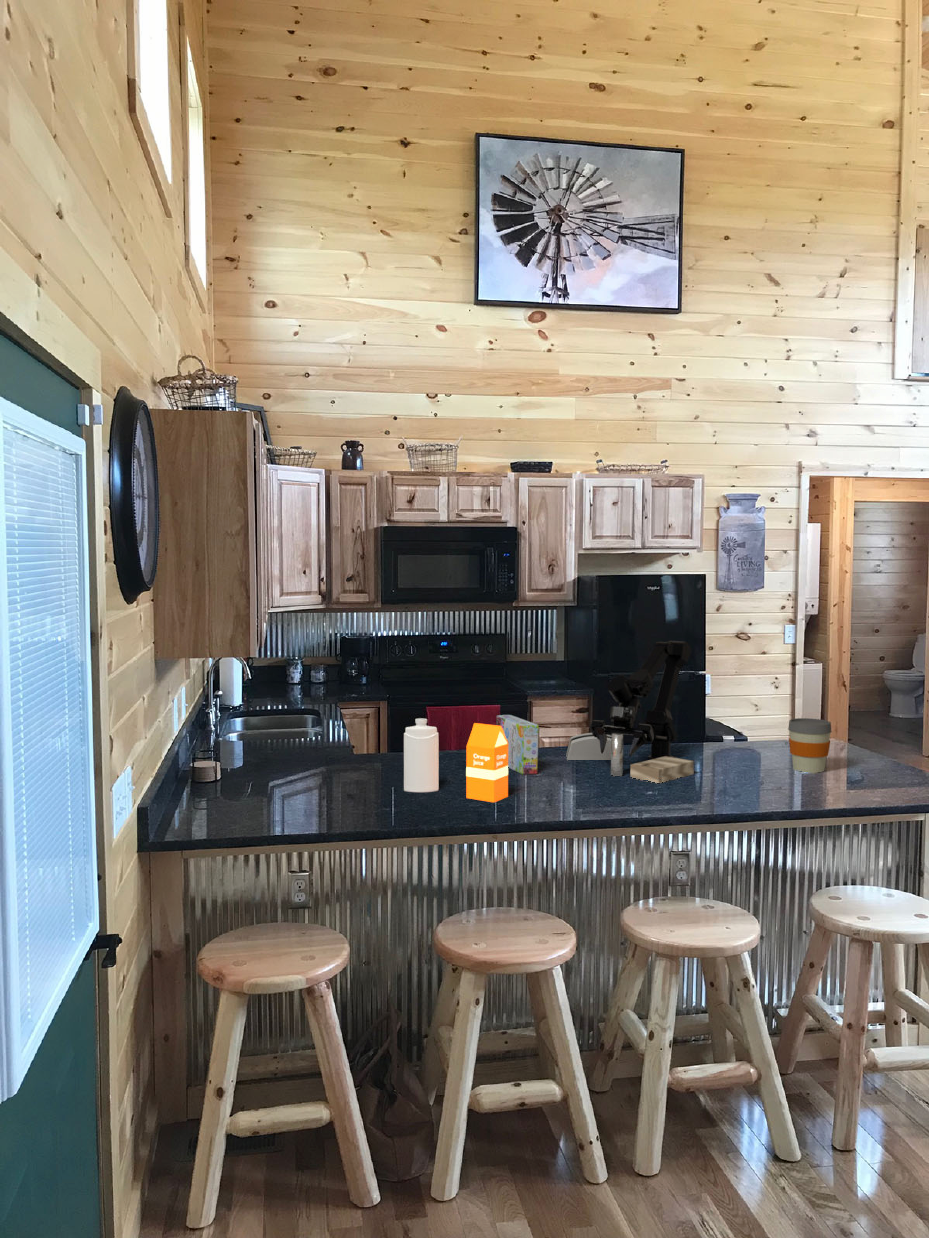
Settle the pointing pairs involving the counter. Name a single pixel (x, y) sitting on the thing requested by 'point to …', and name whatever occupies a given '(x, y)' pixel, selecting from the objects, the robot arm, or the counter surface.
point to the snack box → (520, 743)
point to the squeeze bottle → (421, 757)
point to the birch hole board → (662, 769)
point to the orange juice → (487, 763)
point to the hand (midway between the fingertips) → (615, 754)
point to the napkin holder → (588, 748)
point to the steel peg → (617, 754)
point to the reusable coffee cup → (809, 743)
